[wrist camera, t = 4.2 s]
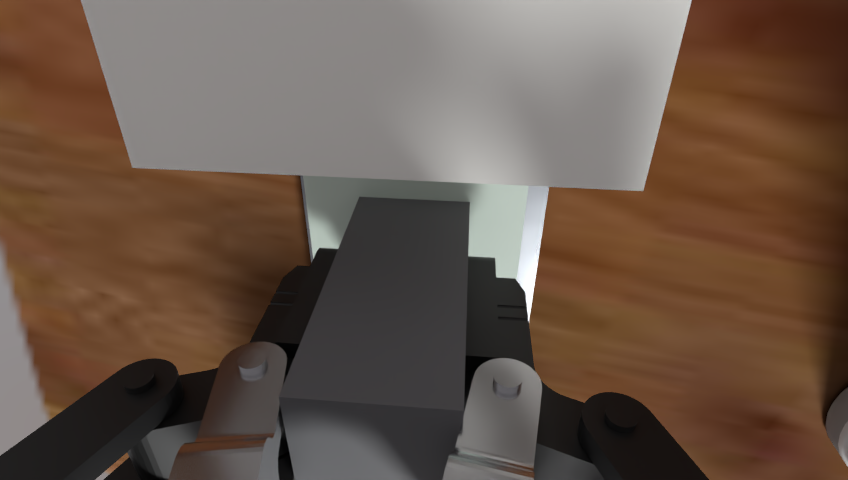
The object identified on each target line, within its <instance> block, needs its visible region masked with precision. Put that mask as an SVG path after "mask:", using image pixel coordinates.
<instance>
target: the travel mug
mask: <svg viewBox="0 0 848 480" xmlns="http://www.w3.org/2000/svg"><path fill="white" fill-rule="evenodd" d="M826 431H827V435H828V437H829V438H830V440H831V442H832V443H833V445H834V446H835V448H836V449H837V451H838V453H839V454H840V456H841V457H842V459H843V460H844V462H845V463H846V465H847V466H848V387H847V388H846V389H845V390H844V391H843V392H841V393H840V394H839V396H838V397H837V398H836V399H835V401H834V402H833V403H832V405H831V407H830V409H829V411H828V413H827V419H826Z"/></svg>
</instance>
